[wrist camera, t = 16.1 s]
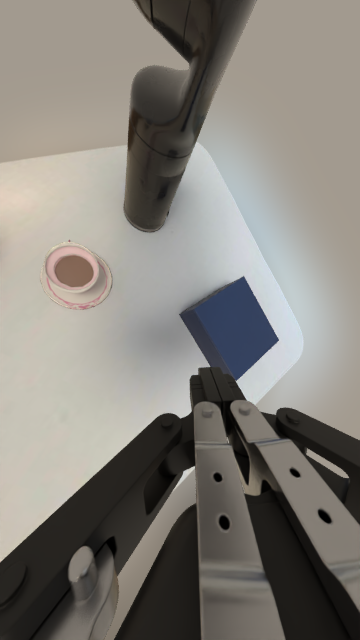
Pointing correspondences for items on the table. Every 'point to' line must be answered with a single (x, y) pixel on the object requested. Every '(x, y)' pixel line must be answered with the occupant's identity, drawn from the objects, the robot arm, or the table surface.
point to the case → (204, 335)
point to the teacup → (75, 276)
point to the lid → (236, 327)
